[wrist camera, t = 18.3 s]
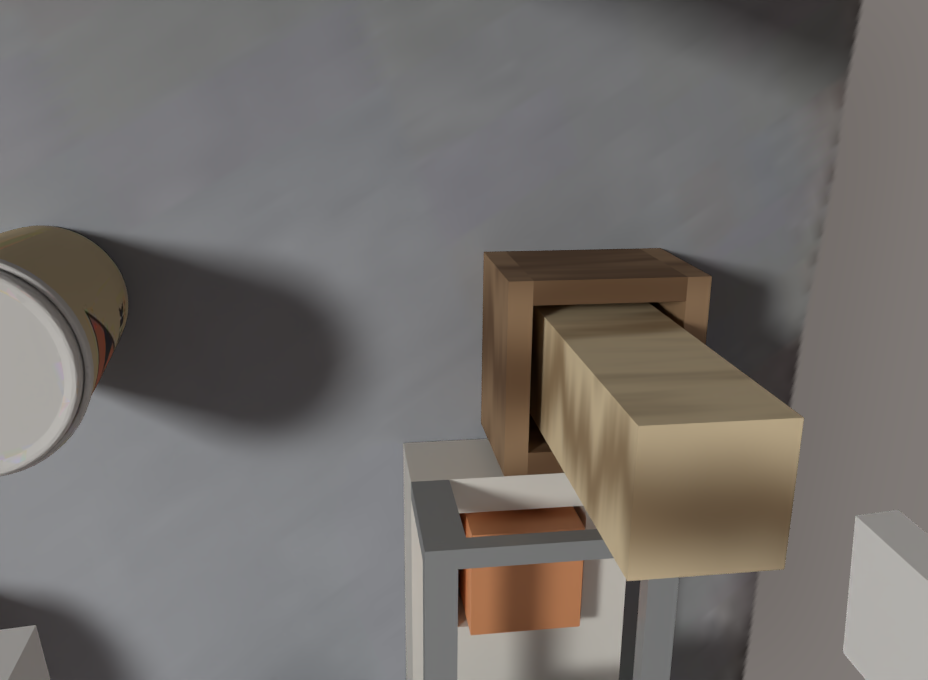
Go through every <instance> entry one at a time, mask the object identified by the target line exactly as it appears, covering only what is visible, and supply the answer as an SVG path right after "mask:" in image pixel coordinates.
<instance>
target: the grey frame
mask: <svg viewBox="0 0 928 680" xmlns="http://www.w3.org/2000/svg"><path fill="white" fill-rule="evenodd" d="M403 459H404V538H405V617H406V680H619V669H620V655H621V641H622V627H623V613H624V599H625V585H626V578H625V576H624V575H623V573H622V571H621V570H620V568H619V566H618V564H617V563H616V561H615V559H614V557H613V556H612V554H611V552H610V551H609V549H608V547H607V545H606V544H605V542H604V540H603V539H602V537H601V535H600V533H599V532H598V530H597V528H596V526H595V525H594V523H593V521H592V520H591V518H590V516H589V514H588V513H587V511H586V509H585V507H584V506H583V504H582V502H581V501H580V499H579V497H578V495H577V494H576V492H575V490H574V488H573V487H572V485H571V483H570V482H569V480H568V478H567V476H566V475H565V473H554V474H536V475H518V476H504V475H503V473H502V471H501V468H500V466H499V464H498V461H497V459H496V457H495V454H494V452H493V449H492V447H491V445H490V442H489V440H488V439H472V440H453V441H433V442H413V443H403ZM570 506H573V507H574V509H575V511H576V513H577V515H578V516H579V518H580V520H581V522H582V524H583V525H584V527H585V530H573V531H558V532H543V533H528V534H513V535H498V536H483V537H468V538H466V536H465V532H464V529H463V525H462V522H461V518H460V515H459V513H474V512H490V511H506V510H522V509H538V508H554V507H570ZM582 560H583V573H582V592H581V610H580V626H578V627H566V628H554V629H541V630H529V631H517V632H505V633H493V634H481V635H471V634H470V630H469V626H468V622H467V618H466V614H465V610H464V606H463V602H462V598H461V594H460V590H459V586H458V569H470V568H484V567H498V566H512V565H526V564H540V563H554V562H568V561H582ZM678 584H679V577H676V578H663V579H650V580H640V593H639V606H638V619H637V632H636V645H635V658H634V671H633V680H670V672H671V661H672V650H673V639H674V628H675V617H676V606H677V595H678Z"/></svg>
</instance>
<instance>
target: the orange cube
mask: <svg viewBox="0 0 928 680" xmlns="http://www.w3.org/2000/svg"><path fill="white" fill-rule="evenodd" d="M459 515H460V518H461V522H462V525H463V529H464V532H465V536H466V538H468V537H483V536H498V535H513V534H528V533H543V532H558V531H573V530H585V527H584V525H583V524H582V522H581V520H580V518H579V516H578V515H577V513H576V511H575V509H574V507H573V506H570V507H554V508H538V509H522V510H506V511H490V512H474V513H459ZM582 573H583V560H582V561H568V562H554V563H540V564H526V565H512V566H498V567H484V568H470V569H458V586H459V590H460V594H461V598H462V602H463V606H464V610H465V614H466V618H467V622H468V626H469V630H470V634H471V635H481V634H493V633H505V632H517V631H529V630H541V629H554V628H566V627H578V626H580V610H581V592H582Z"/></svg>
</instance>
